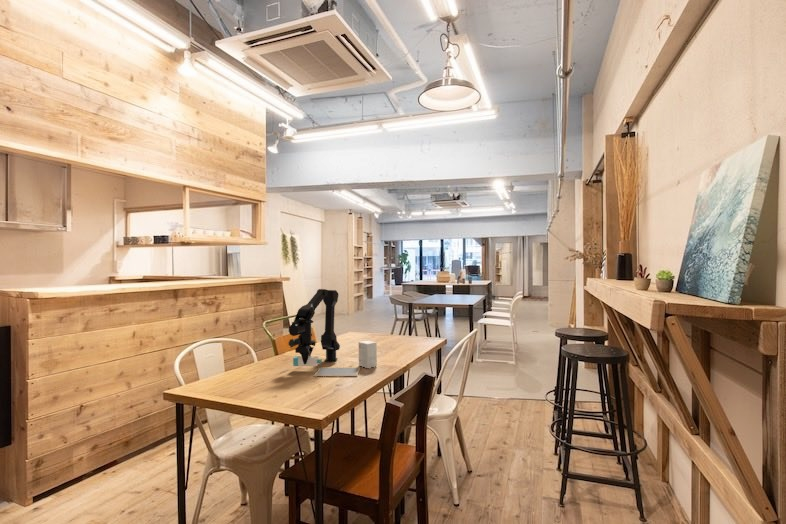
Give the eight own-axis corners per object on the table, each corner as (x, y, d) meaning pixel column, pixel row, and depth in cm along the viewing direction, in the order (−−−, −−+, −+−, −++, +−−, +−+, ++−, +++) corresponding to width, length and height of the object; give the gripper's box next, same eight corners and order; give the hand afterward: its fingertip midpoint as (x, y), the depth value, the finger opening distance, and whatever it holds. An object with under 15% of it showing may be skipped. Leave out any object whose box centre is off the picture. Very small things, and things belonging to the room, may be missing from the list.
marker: (295, 364, 220) (295, 356, 220) (322, 364, 220) (322, 356, 220) (293, 366, 216) (293, 358, 216) (320, 366, 216) (320, 358, 216)
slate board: (320, 368, 222) (319, 367, 222) (360, 368, 221) (360, 367, 221) (313, 376, 206) (313, 375, 206) (357, 376, 206) (357, 375, 206)
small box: (377, 367, 224) (376, 342, 224) (367, 369, 220) (367, 344, 220) (368, 364, 231) (367, 340, 230) (358, 366, 226) (358, 341, 226)
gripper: (294, 329, 228) (295, 358, 228) (284, 336, 209) (285, 367, 209) (315, 329, 227) (315, 358, 227) (307, 335, 209) (307, 367, 209)
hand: (305, 362), depth 218 cm, fingers closed on marker, 4 cm apart
